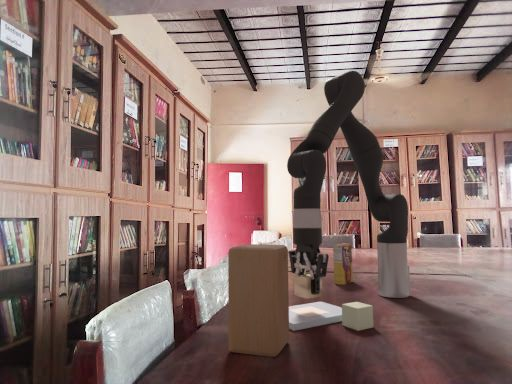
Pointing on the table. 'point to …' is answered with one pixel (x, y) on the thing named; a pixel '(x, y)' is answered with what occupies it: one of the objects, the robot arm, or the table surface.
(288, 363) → the table surface
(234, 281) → the wooden block
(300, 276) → the maple block
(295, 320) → the board
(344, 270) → the candy box
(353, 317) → the sage cap block
